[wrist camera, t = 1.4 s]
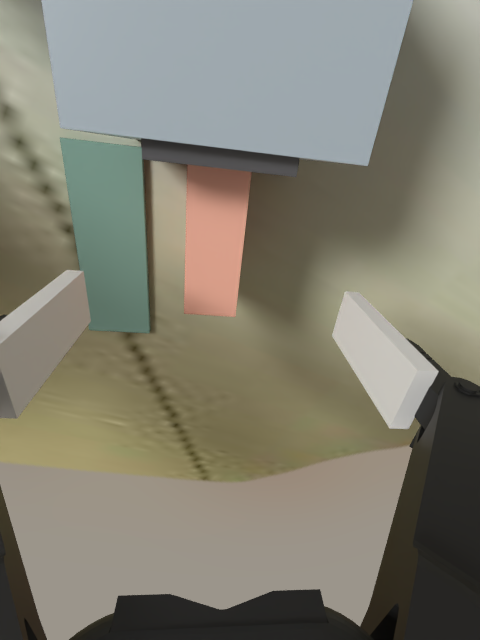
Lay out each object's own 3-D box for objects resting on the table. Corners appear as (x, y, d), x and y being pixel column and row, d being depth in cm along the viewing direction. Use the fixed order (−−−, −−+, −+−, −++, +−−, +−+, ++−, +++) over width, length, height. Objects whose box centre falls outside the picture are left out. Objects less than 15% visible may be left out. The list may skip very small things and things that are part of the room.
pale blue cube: (136, 151, 24) (63, 150, 12) (122, -147, 17) (-79, -795, 5) (294, 169, 26) (362, 185, 14) (340, -97, 19) (556, -519, 7)
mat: (91, 327, 32) (89, 330, 31) (63, 137, 23) (59, 137, 23) (150, 330, 32) (149, 333, 32) (143, 147, 24) (141, 147, 24)
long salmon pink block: (193, 265, 29) (184, 313, 21) (200, 50, 22) (191, -17, 13) (229, 268, 30) (235, 316, 21) (248, 58, 22) (271, -3, 13)
